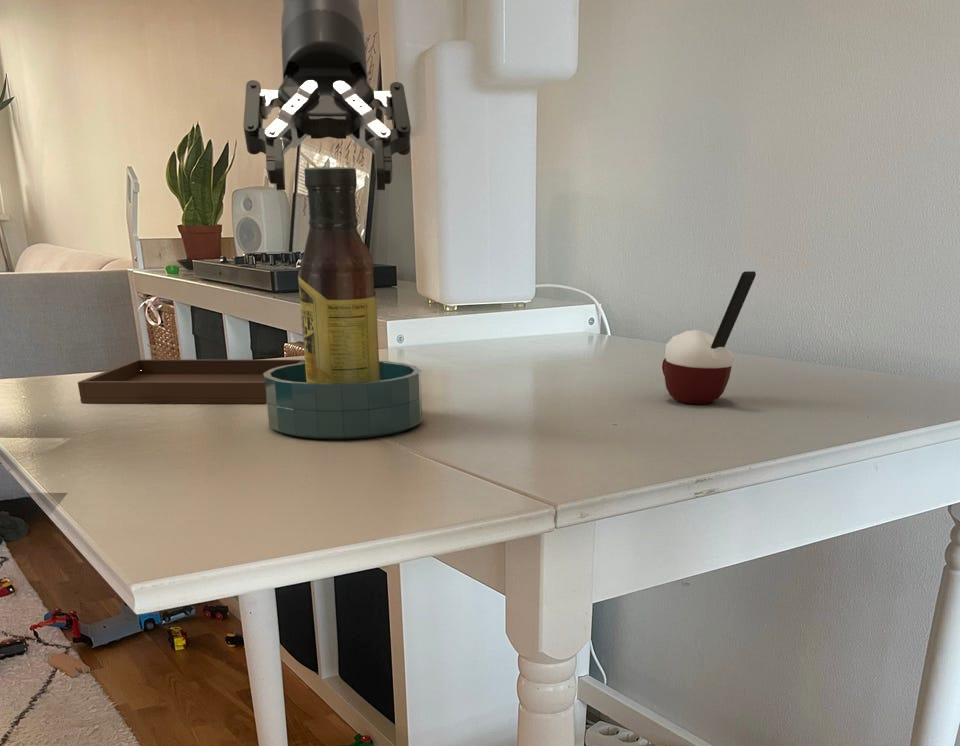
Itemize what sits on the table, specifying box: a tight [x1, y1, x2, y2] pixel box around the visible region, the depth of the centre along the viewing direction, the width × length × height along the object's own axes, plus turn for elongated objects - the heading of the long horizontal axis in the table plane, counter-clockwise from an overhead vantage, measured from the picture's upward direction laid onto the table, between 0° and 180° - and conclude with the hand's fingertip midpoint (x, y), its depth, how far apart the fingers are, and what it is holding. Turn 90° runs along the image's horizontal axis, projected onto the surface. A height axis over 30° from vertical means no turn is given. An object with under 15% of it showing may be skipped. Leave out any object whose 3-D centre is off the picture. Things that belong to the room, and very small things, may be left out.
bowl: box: [263, 360, 423, 440], centre depth 84 cm, size 13×13×4 cm
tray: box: [77, 358, 305, 405], centre depth 100 cm, size 19×15×2 cm
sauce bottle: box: [297, 166, 380, 383], centre depth 80 cm, size 6×6×20 cm
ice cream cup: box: [661, 270, 757, 405], centre depth 91 cm, size 10×6×12 cm, turn 10°
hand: (331, 182), depth 83 cm, fingers open, 8 cm apart
